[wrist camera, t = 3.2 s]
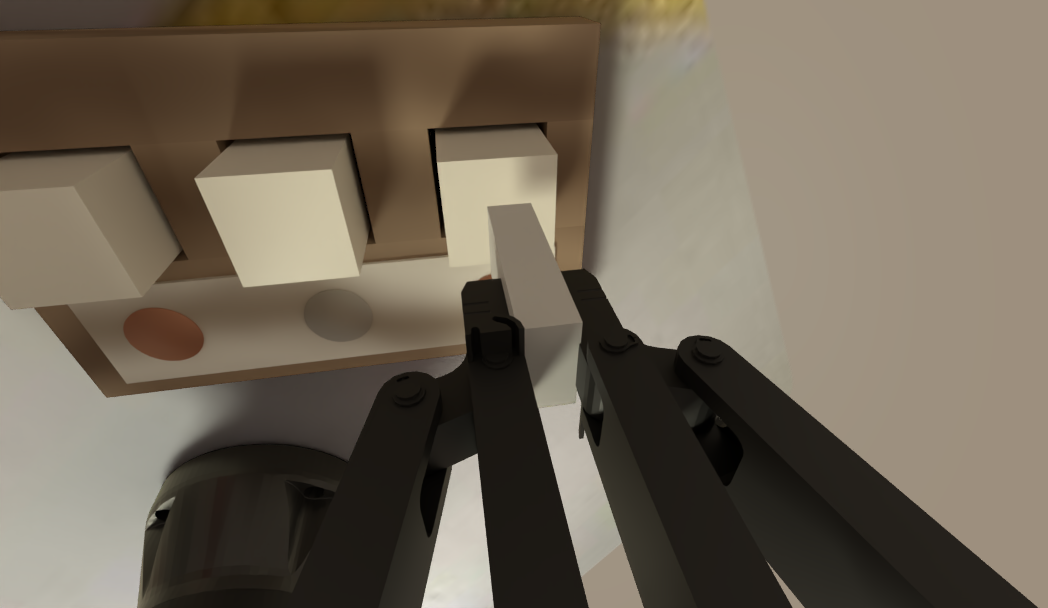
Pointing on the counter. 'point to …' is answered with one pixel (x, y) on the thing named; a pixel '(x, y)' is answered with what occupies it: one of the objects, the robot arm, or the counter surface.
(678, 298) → the counter surface
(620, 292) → the counter surface
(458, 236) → the button
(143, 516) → the counter surface
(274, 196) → the button middle
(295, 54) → the button board
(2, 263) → the button
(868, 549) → the robot arm
